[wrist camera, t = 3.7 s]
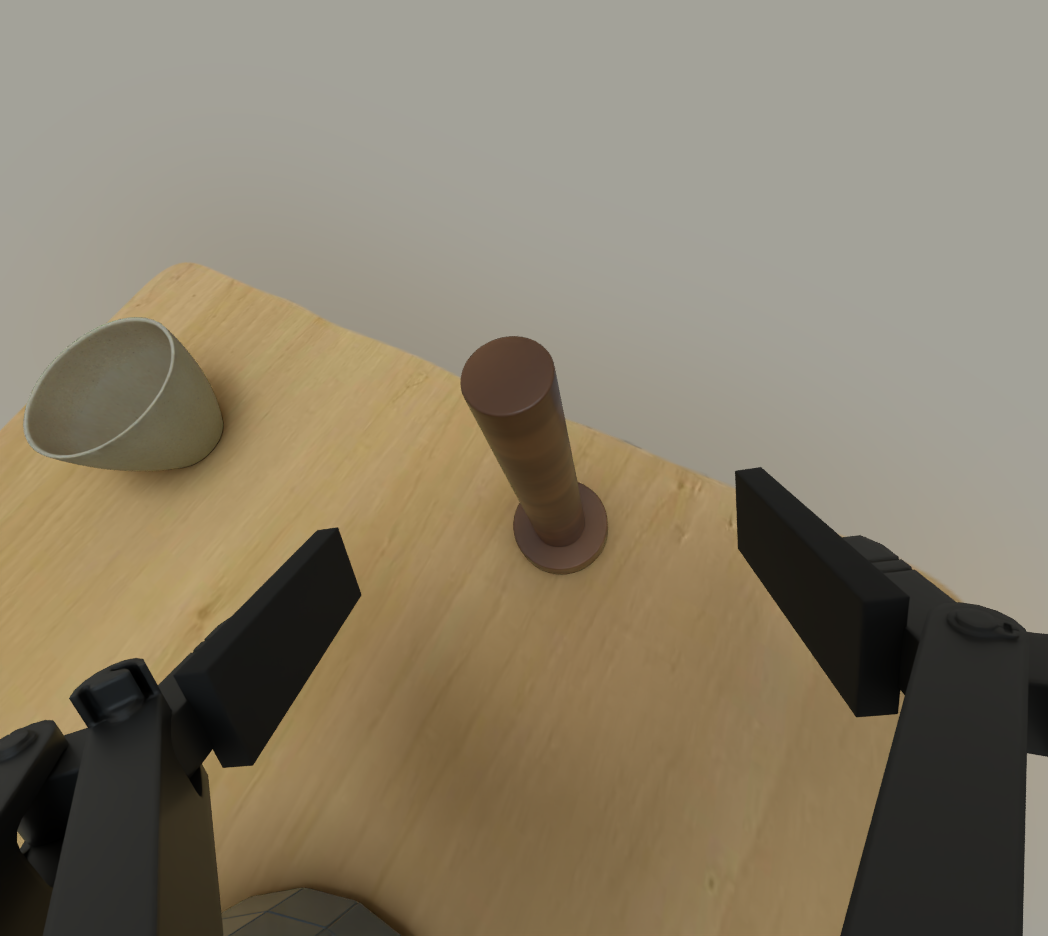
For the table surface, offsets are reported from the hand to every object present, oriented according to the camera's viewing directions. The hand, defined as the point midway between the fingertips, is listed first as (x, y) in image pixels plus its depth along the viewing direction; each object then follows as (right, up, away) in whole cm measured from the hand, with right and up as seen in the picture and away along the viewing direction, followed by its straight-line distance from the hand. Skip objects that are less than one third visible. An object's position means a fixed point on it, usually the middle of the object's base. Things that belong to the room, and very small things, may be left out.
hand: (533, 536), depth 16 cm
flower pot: (-25, +4, +20) cm, 32 cm away
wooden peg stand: (+2, -1, +12) cm, 12 cm away
